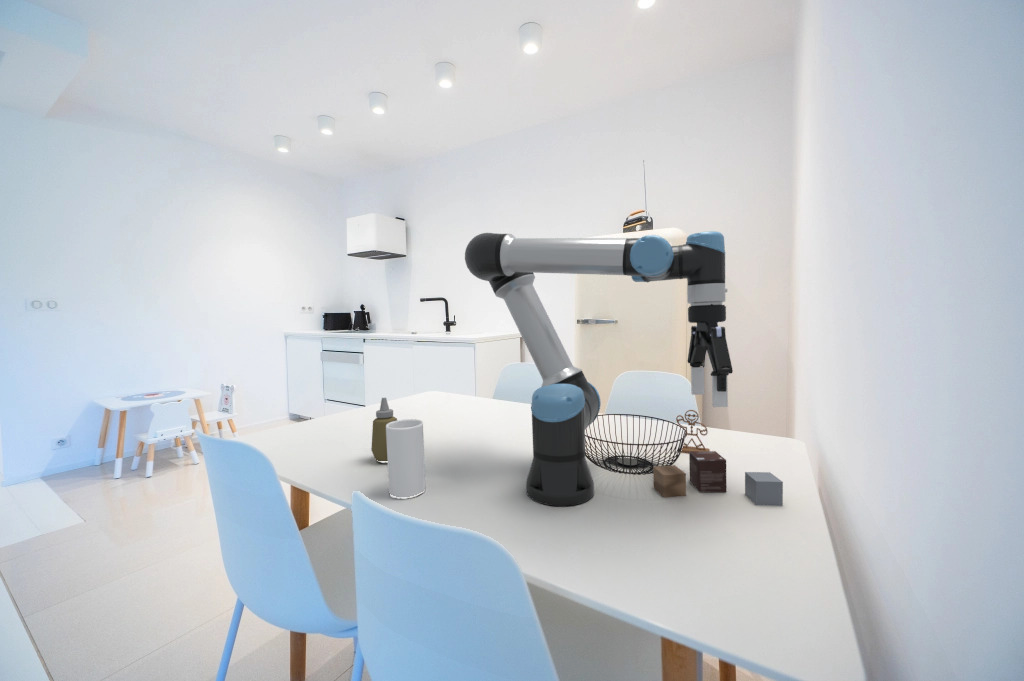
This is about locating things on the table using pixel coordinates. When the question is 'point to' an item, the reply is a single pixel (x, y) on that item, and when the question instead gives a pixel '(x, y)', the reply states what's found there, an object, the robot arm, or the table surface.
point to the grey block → (764, 488)
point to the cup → (405, 457)
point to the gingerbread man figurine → (689, 448)
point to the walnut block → (669, 481)
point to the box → (707, 471)
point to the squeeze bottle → (381, 431)
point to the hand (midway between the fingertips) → (708, 400)
